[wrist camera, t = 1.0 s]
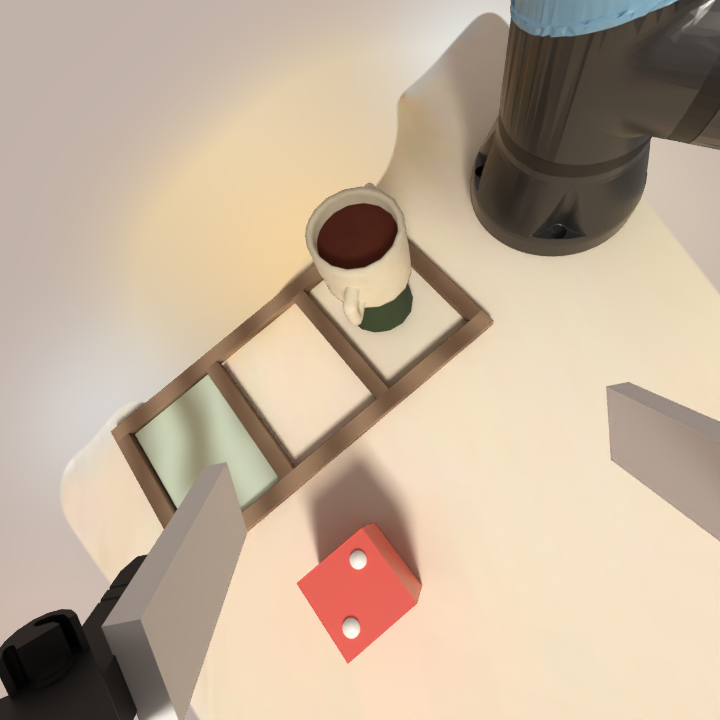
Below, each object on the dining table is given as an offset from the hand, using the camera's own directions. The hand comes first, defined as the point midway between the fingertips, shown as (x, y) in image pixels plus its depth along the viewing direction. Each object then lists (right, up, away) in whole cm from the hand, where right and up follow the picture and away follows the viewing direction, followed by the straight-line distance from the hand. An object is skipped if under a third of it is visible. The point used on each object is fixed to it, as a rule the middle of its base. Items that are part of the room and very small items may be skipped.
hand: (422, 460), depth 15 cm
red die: (-1, -14, +21) cm, 25 cm away
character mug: (0, +9, +28) cm, 29 cm away
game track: (-8, +1, +27) cm, 28 cm away
